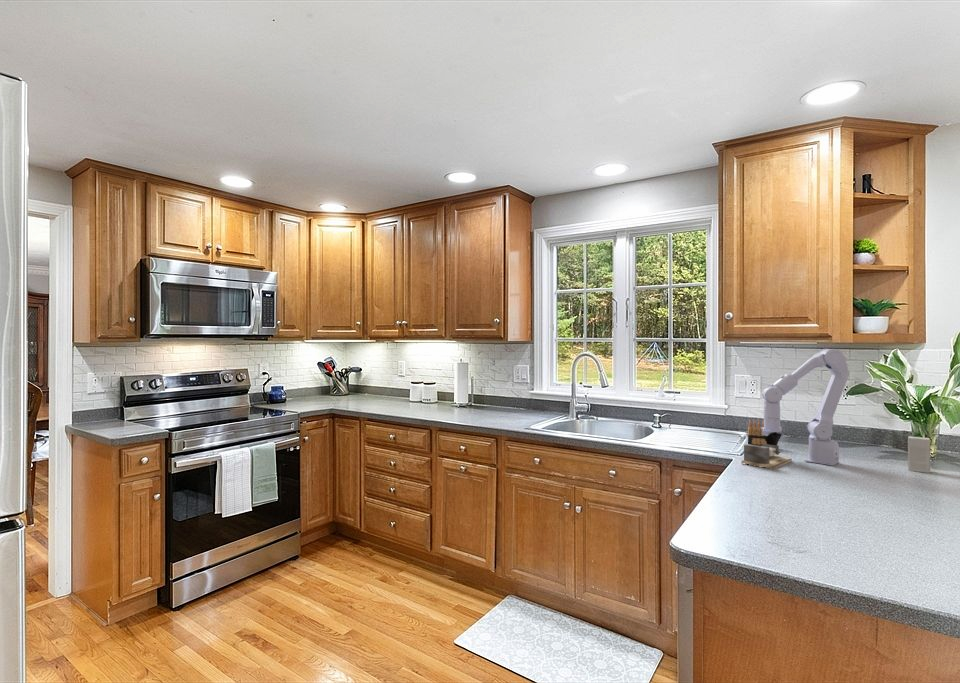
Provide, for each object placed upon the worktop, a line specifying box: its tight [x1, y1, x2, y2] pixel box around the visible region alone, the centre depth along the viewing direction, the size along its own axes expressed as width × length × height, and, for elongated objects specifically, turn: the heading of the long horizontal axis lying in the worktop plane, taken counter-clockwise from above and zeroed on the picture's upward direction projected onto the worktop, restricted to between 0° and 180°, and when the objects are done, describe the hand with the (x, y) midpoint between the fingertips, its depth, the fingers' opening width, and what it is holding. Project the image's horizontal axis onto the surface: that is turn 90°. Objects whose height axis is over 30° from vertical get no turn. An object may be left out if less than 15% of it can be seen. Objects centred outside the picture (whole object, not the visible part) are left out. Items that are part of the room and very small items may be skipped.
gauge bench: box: [741, 443, 793, 470], centre depth 200 cm, size 11×19×7 cm, turn 130°
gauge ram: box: [762, 443, 781, 456], centre depth 202 cm, size 8×8×4 cm
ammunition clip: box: [747, 419, 767, 446], centre depth 228 cm, size 11×2×12 cm, turn 56°
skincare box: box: [907, 435, 931, 474], centre depth 186 cm, size 6×4×12 cm
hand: (772, 451), depth 206 cm, fingers closed
